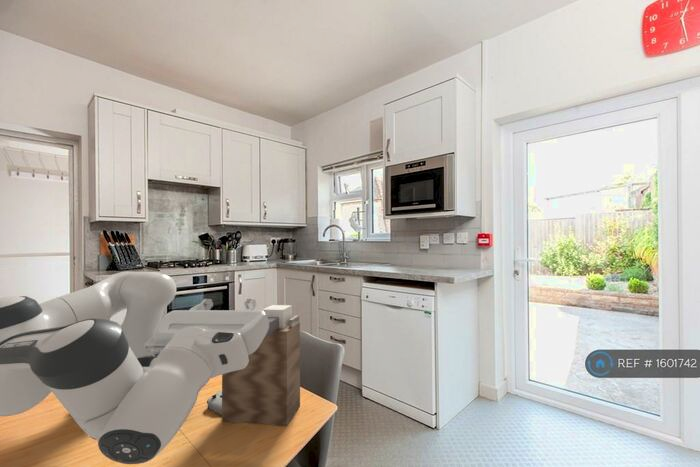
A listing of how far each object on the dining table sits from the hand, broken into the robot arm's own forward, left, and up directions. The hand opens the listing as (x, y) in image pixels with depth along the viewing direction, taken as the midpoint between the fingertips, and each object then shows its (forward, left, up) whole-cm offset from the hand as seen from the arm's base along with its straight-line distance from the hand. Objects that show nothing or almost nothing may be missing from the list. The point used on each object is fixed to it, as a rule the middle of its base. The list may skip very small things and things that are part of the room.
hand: (230, 301), depth 68 cm
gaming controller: (-17, +28, -35) cm, 48 cm away
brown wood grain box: (-4, +25, -35) cm, 43 cm away
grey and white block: (0, +20, -11) cm, 22 cm away
